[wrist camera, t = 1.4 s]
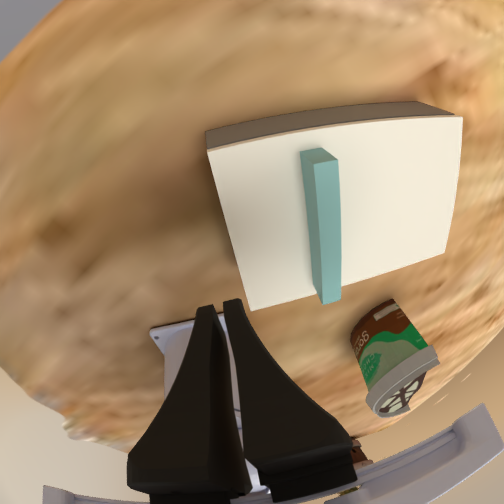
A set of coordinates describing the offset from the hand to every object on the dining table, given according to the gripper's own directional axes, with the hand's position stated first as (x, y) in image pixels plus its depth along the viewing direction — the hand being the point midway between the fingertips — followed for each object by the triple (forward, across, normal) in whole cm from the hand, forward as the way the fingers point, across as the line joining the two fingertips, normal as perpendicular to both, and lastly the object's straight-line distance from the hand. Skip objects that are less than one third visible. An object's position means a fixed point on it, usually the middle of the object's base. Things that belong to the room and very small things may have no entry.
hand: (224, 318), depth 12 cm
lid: (+6, -9, 0) cm, 11 cm away
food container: (+10, -13, +20) cm, 26 cm away
